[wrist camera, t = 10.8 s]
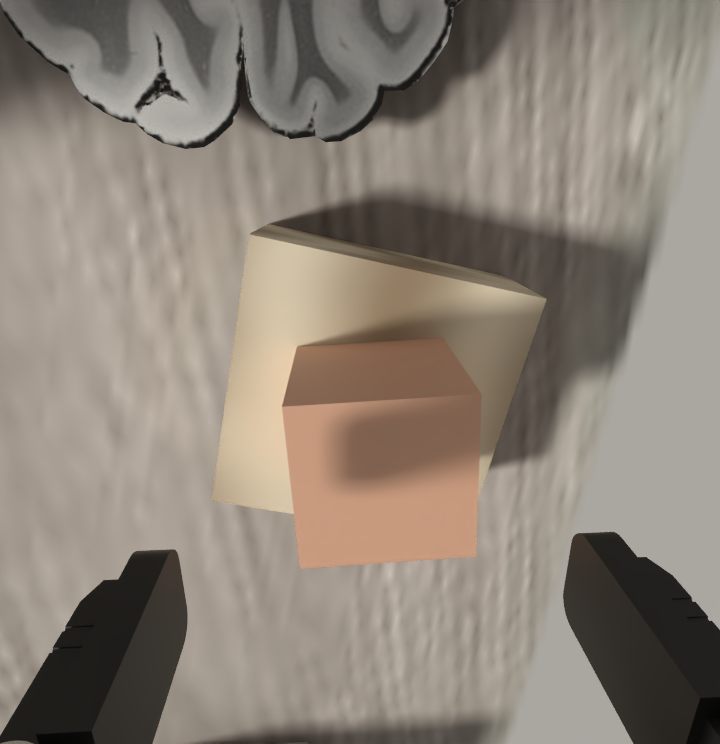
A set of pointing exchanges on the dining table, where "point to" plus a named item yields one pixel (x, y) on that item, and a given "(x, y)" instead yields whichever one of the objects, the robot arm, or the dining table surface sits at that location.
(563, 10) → the dining table surface
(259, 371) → the birch block
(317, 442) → the terracotta cube
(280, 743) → the food container
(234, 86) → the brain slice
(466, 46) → the dining table surface
